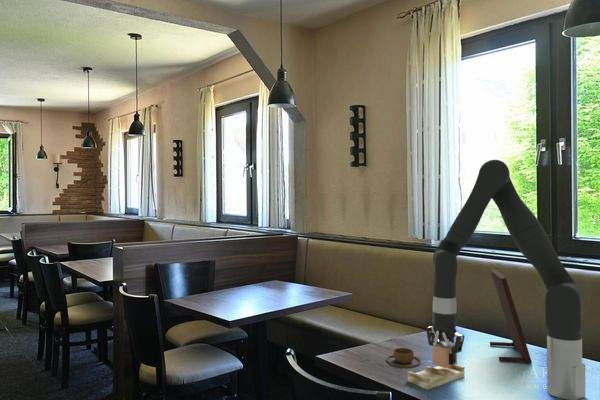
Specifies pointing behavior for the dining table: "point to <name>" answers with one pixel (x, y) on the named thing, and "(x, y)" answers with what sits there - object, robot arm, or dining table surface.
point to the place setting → (404, 357)
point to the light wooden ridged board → (435, 376)
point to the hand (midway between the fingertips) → (444, 361)
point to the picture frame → (510, 320)
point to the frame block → (442, 355)
